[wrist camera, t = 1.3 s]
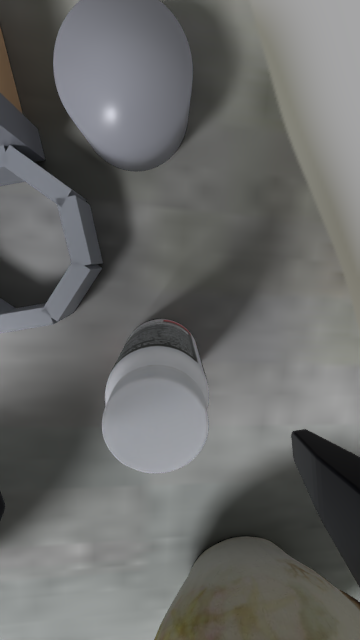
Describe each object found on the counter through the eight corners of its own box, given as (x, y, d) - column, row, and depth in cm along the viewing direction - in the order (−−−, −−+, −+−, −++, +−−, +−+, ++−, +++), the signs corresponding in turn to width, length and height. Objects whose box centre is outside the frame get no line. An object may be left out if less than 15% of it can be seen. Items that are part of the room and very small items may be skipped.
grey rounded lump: (196, 162, 16) (202, 136, 13) (93, 180, 16) (72, 159, 13) (178, 39, 15) (180, -27, 11) (67, 59, 15) (36, -1, 11)
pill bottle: (111, 341, 18) (61, 410, 10) (173, 304, 18) (173, 343, 10) (151, 398, 19) (135, 503, 11) (210, 363, 19) (240, 445, 10)
